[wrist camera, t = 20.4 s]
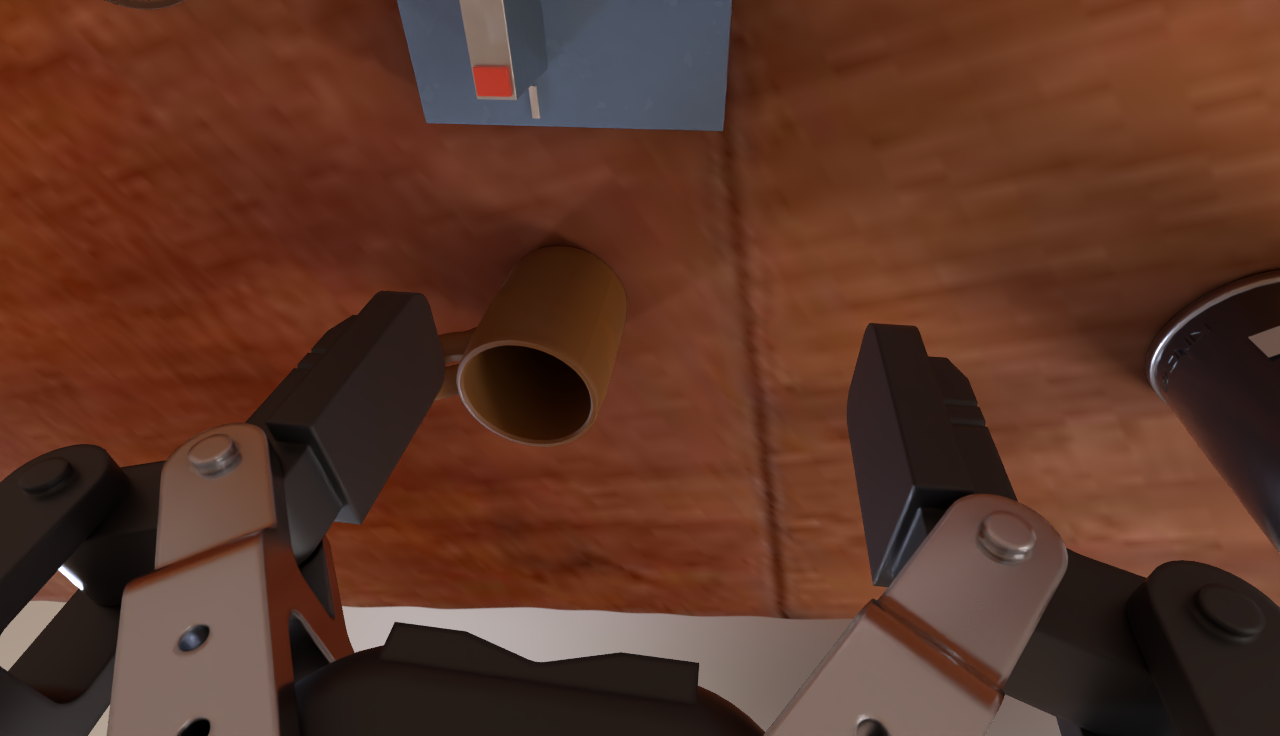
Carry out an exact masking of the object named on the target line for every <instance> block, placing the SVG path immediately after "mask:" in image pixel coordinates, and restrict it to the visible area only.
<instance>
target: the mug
mask: <svg viewBox="0 0 1280 736" xmlns="http://www.w3.org/2000/svg"><path fill="white" fill-rule="evenodd" d="M626 316H627V300H626V295H625V291H624V288H623V286H622V284H621V282H620V280H619V278H618V277H617V275H616V274H615V273H614V272H613V270H612V269H611V268H610V267H609V266H608V265H607V264H606V263H604V262H603V261H602V260H601V259H599V258H597V257H596V256H594V255H592V254H590V253H588V252H586V251H584V250H581V249H577V248H573V247H567V246H550V247H544V248H541V249H538V250H535V251H533V252H531V253H529V254H528V255H526V256H525V257H524V258H522V259H521V260H520V261H519V262H518V263H517V264H516V265H515V267H514V268H513V269H512V270H511V272H510V274H509V275H508V277H507V278H506V280H505V282H504V284H503V285H502V287H501V288H500V290H499V292H498V293H497V295H496V296H495V298H494V300H493V301H492V303H491V305H490V306H489V308H488V310H487V311H486V313H485V315H484V316H483V318H482V320H481V321H480V323H479V325H478V327H476V328H473V329H471V330H468V331H463V332H453V333H447V334H443V335H439V336H438V337H439V340H440V344H441V347H442V351H443V354H444V358H445V364H446V363H448V362H452V361H460V363H459V364H457V365H453V366H449V367H445V377H444V382H443V385H442V388H441V390H440V391H439V393H438V395H437V397H436V398H435V400H434V401H436V400H440V399H444V398H448V397H451V396H455V395H460V398H461V400H462V402H463V404H464V405H465V407H466V408H467V410H468V411H469V412H470V413H471V415H472V416H473V417H474V418H475V419H476V420H477V421H478V422H479V423H481V424H482V425H483V426H484V427H486V428H487V429H489V430H490V431H492V432H493V433H495V434H497V435H499V436H501V437H503V438H505V439H508V440H510V441H513V442H516V443H520V444H524V445H529V446H538V447H551V446H558V445H563V444H567V443H569V442H572V441H574V440H576V439H578V438H579V437H581V436H582V435H583V434H585V433H586V432H587V431H588V430H589V429H590V428H591V426H592V425H593V423H594V422H595V419H596V417H597V414H598V412H599V409H600V407H601V405H602V402H603V400H604V397H605V395H606V392H607V388H608V385H609V381H610V378H611V374H612V370H613V367H614V363H615V360H616V356H617V352H618V348H619V344H620V340H621V337H622V333H623V329H624V325H625V321H626Z"/></svg>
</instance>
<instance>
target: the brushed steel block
mask: <svg viewBox="0 0 1280 736" xmlns="http://www.w3.org/2000/svg"><path fill="white" fill-rule="evenodd" d="M459 2H460V7H461V13H462V18H463V24H464V29H465V35H466V40H467V46H468V51H469V57H470V63H471V68H472V74H473V79H474V85H475V90H476V96H477V99H483V100H517V99H518V98H519V97H520V96H521V95H522V94H523V93H524V92H525V91H526V90H527V89H528V88H529V87H530V86H531V85H532V84H533V83H534V82H535V81H536V80H537V79H538V78H539V77H540V76H541V75H542V74H543V73H544V72H545V71H546V70H547V69H548V64H547V55H546V46H545V36H544V27H543V17H542V8H541V0H459Z"/></svg>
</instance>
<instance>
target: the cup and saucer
mask: <svg viewBox="0 0 1280 736" xmlns="http://www.w3.org/2000/svg"><path fill="white" fill-rule="evenodd" d="M105 1H108V2H111V3H113V4H116V5H120V6H124V7H129V8H135V9H151V10H153V9H161V8H166V7H170V6H174V5H176V4H178V3H180V2H183V1H184V0H105Z"/></svg>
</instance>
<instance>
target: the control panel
mask: <svg viewBox="0 0 1280 736" xmlns="http://www.w3.org/2000/svg"><path fill="white" fill-rule="evenodd" d="M397 2H398V6H399V11H400V15H401V19H402V23H403V27H404V32H405V36H406V40H407V44H408V48H409V52H410V57H411V61H412V65H413V69H414V73H415V78H416V82H417V86H418V90H419V94H420V99H421V103H422V107H423V111H424V115H425V119H426V123H446V124H482V125H519V126H555V127H592V128H628V129H664V130H701V131H723V127H724V118H725V110H726V95H727V80H728V65H729V49H730V34H731V19H732V4H733V0H541V8H542V17H543V27H544V36H545V46H546V55H547V64H548V69H547V70H546V71H545V72H544V73H543V74H542V75H541V76H540V77H539V78H538V79H537V80H536V81H535V82H534V83H533V84H532V85H531V86H530V87H529V88H528V89H527V90H526V91H525V92H524V93H523V94H522V95H521V96H520V97H519V98H518V99H517V100H483V99H477V96H476V90H475V85H474V79H473V74H472V68H471V63H470V57H469V51H468V46H467V40H466V35H465V29H464V24H463V18H462V13H461V7H460V2H459V0H397Z"/></svg>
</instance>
